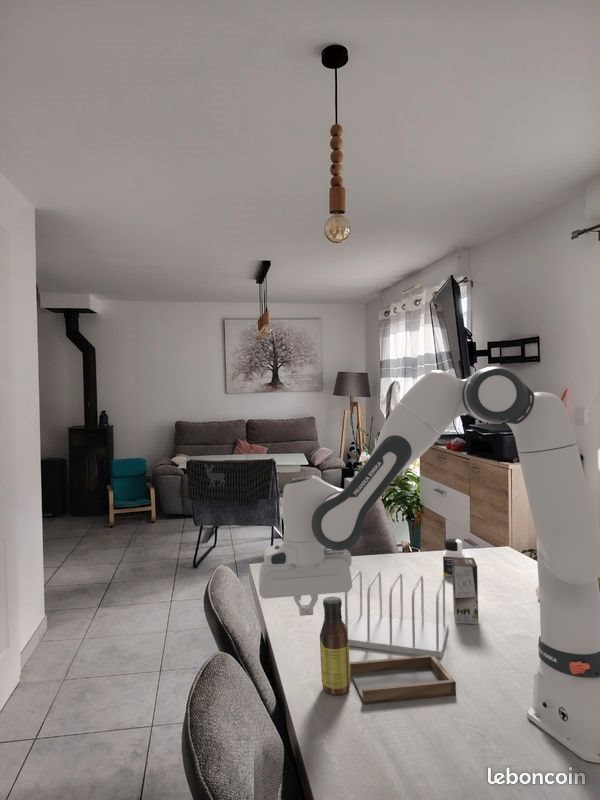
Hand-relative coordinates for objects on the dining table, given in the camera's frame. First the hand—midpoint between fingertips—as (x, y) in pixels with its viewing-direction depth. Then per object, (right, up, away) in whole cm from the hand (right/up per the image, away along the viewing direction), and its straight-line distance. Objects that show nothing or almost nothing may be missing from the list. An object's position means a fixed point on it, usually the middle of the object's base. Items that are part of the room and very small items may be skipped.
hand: (306, 614), depth 122 cm
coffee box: (+46, -16, +38) cm, 62 cm away
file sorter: (+24, -17, +27) cm, 40 cm away
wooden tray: (+21, -16, +2) cm, 27 cm away
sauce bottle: (+6, -17, +1) cm, 18 cm away
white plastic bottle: (+54, -16, +79) cm, 97 cm away
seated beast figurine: (+75, -15, +49) cm, 91 cm away
